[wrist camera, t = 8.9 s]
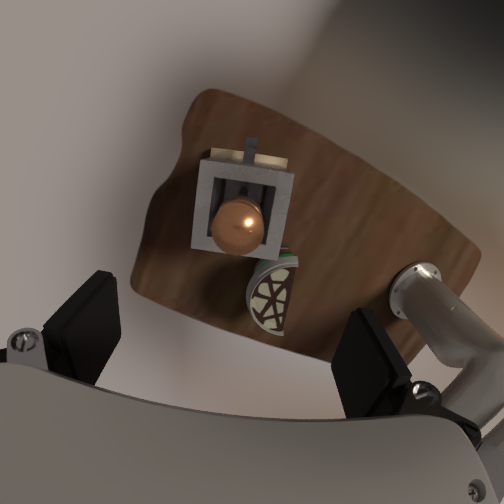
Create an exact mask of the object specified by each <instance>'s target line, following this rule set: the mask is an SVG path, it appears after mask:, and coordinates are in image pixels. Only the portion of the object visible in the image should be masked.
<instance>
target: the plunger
mask: <svg viewBox="0 0 504 504" xmlns="http://www.w3.org/2000/svg"><path fill="white" fill-rule="evenodd" d="M263 185H264V184H258V183H252V182H245V181H238V180H231V179H227V180H226V187H225V194H224V201H223V203H222V205H221V206H220V208H219V210H218V212H217V214H216V216H215V218H214V220H213V223H212V228H211V232H212V237H213V240H214V242H215V244H216V245H217V246H218V247H219V248H220V249H221V250H222V251H224V252H226V253H228V254H230V255H236V256H240V255H246V254H248V253H251V252H252V251H254V250H255V249H256V248H257V247H258V246H259V245H260V243H261V242H262V239H263V236H264V224H263V218H262V212H261V209H260V203H261V197H262V191H263Z"/></svg>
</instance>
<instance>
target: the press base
mask: <svg viewBox="0 0 504 504" xmlns="http://www.w3.org/2000/svg"><path fill="white" fill-rule="evenodd" d="M217 155H219V156H226V157H234V158H241V159H243V156H244V152H242V151H235V150H228V149H220V148H211V154H210V157H213V156H217ZM254 161H260V162H266V163H272V164H278V165H281V166H283V167H284V168H286V167H287V161H288V159H285V158H279V157H274V156H268V155H262V154H255V160H254ZM226 180H227V179H224V185H223V193H222V200H221V205H222V203H223V201H224V194H225V187H226ZM265 186H266V185H263V191H262V197H261V203H260V209H262V204H263V198H264V192H265Z"/></svg>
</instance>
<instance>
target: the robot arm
mask: <svg viewBox="0 0 504 504" xmlns="http://www.w3.org/2000/svg"><path fill="white" fill-rule="evenodd" d="M389 306H390V308H391V310H392V312H393V313H394V314H395V315H396V316H397V317H399V318H401V319H408V320H409V321H410V322H411V323H412V325H413V326H414V327H415V329H416V330H417V331H418V333H419V334H420V335H421V337H422V338H423V339H424V341H425V342H426V344H427V345H428V346H429V348H430V349H431V350H432V352H433V353H434V354H435V356H436V357H437V359H438V360H439V361H440V362H441V363H443V364H444V365H446V366H449V367H453V368H463V369H462V371H461V372H460V373H459V374H458V375H457V377H456V378H455V379H454V380H453V381H452V382H451V383H450V384H449V386H448V387H447V388H446V389H445V390H444V391H443V392H442V393H440V391H439V390H438V389H437V388H436V387H435V386H434V385H432V384H431V383H429V382H426V381H415V382H413V383H412V382H411V381H410V378H411V377H412V374H411V372H410V371H409V369H408V367H407V366H406V364H405V362H404V361H403V359H402V357H401V355H400V354H399V352H398V351H397V349H396V347H395V346H394V344H393V342H392V341H391V339H390V338H389V336H388V334H387V333H386V331H385V330H384V328H383V326H382V325H381V323H380V322H379V320H378V319H377V317H376V315H375V314H374V312H373V311H372V310H371V309H366V308H357V309H356V310H355V311H352V313H351V315H350V317H349V320H348V323H347V325H346V328H345V330H344V333H343V335H342V338H341V340H340V343H339V345H338V348H337V350H336V352H335V355H334V357H333V359H332V362H331V369H332V372H333V376H334V379H335V382H336V385H337V389H338V392H339V395H340V398H341V402H342V405H343V409H344V412H345V415H346V418H345V419H280V418H262V417H249V416H238V415H228V414H221V413H213V412H207V411H200V410H194V409H188V408H182V407H177V406H171V405H167V404H162V403H157V402H153V401H148V400H144V399H140V398H136V397H132V396H128V395H124V394H121V393H117V392H114V391H110V390H107V389H104V388H100V387H97V386H94V385H95V383H96V381H97V380H98V378H99V376H100V374H101V372H102V370H103V369H104V367H105V365H106V363H107V361H108V360H109V358H110V356H111V354H112V353H113V351H114V349H115V347H116V346H117V344H118V342H119V340H120V338H121V325H120V316H119V306H118V295H117V281H116V277H113V274H112V273H111V272H106V271H101V270H98V271H97V272H95V273H94V274H93V275H92V276H91V277H90V278H89V279H88V280H87V281H86V282H85V283H84V284H83V285H82V286H81V287H80V288H79V289H78V290H77V291H76V292H75V293H74V294H73V295H72V296H71V297H70V298H69V299H68V300H67V301H66V302H65V303H64V304H63V305H62V306H61V307H60V308H59V309H58V310H57V311H56V312H55V313H54V314H53V315H52V316H51V318H50V319H49V320H48V321H47V322H46V323H45V324H44V325H43V327H44V329H43V330H42V331H41V332H39V331H38V330H36V329H33V328H22V329H19V330H17V331H15V332H14V333H12V334H11V335H10V337H9V338H8V341H7V348H4V349H0V504H500V502H501V500H502V498H503V497H504V418H503V419H502V420H501V421H500V422H499V423H498V424H497V425H496V426H495V427H494V428H493V429H492V430H491V431H490V432H489V433H488V434H487V435H485V436H484V437H483V438H481V432H480V429H482V428H483V427H484V426H485V425H486V424H487V423H488V422H489V421H490V420H491V419H493V418H494V417H495V416H496V415H497V414H498V413H499V412H500V411H501V409H503V407H504V337H503V336H501V335H500V334H498V333H497V332H496V331H495V330H494V329H492V328H491V327H490V326H489V325H488V324H487V323H485V322H484V321H483V320H482V319H481V318H480V317H479V316H478V315H477V314H476V313H475V312H474V311H472V309H471V308H470V307H468V306H467V305H466V304H465V303H464V302H463V301H462V300H461V299H460V298H459V297H458V296H457V295H455V294H454V293H453V292H452V291H451V290H450V289H449V288H448V287H447V286H445V285H444V284H443V283H442V282H441V275H440V272H439V270H438V269H437V268H436V267H435V266H434V265H433V264H431V263H429V262H425V261H421V262H416V263H413V264H411V265H409V266H408V267H406V268H405V269H404V270H403V271H402V272H401V273H400V274H399V275H398V276H397V277H396V279H395V280H394V282H393V284H392V286H391V289H390V292H389Z"/></svg>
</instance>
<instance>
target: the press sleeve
mask: <svg viewBox="0 0 504 504" xmlns="http://www.w3.org/2000/svg"><path fill="white" fill-rule="evenodd" d="M257 142H258V138H253V137H246V143H245V149H244V156H243V159H241V158H234V157H226V156H219V155H217V156H213V157H209V158H206V159H202V160H201V161H200V168H199V176H198V184H197V192H196V201H195V210H194V220H193V230H192V241H191V248H193V249H200V250H207V251H214V252H220V253H226V252H224V251H222V250H221V249H220V248H219V247H218V246H217V245H216V244H215V242H214V240H213V237H212V232H211V228H212V223H213V220H214V218H215V216H216V214H217V212H218V210H219V208H220V206H221V200H222V193H223V185H224V179H231V180H238V181H245V182H252V183H258V184H264V185H266V186H265V192H264V198H263V204H262V209H261V212H262V218H263V224H264V236H263V239H262V242H261V243H260V245H259V246H258V247H257V248H256V249H255V250H254V251H252V252H251V253H248V254H246V255H241V256H248V257H255V258H262V259H268V260H275V261H278V256H279V251H280V246H281V242H282V237H283V232H284V227H285V222H286V217H287V211H288V206H289V201H290V196H291V191H292V185H293V180H294V175H295V174H294V173H292V172H291V171H289V170H287V169H286V168H284V167H283V166H281V165H278V164H272V163H266V162H260V161H254V160H255V154H256V148H257ZM227 254H228V253H227Z"/></svg>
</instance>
